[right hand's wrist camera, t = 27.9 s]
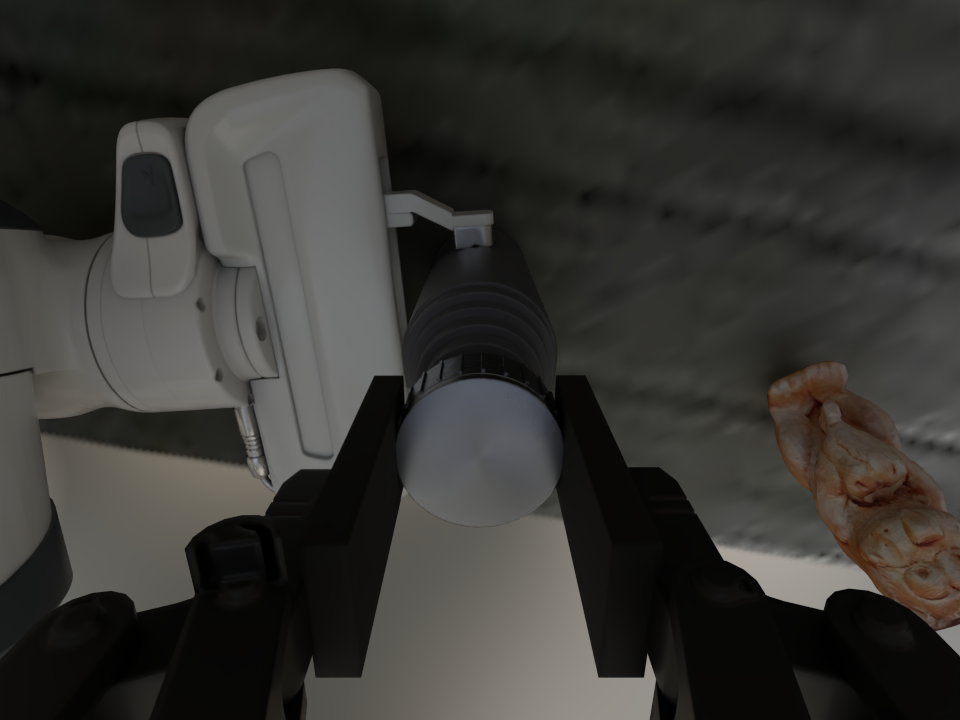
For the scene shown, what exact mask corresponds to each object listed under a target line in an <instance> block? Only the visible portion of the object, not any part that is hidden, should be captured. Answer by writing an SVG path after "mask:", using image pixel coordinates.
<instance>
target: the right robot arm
mask: <svg viewBox="0 0 960 720" xmlns="http://www.w3.org/2000/svg"><path fill="white" fill-rule="evenodd" d="M404 404H405V395H404V376H403V375H374V377H373V379H372V382H371V384H370V386H369V388H368V390H367V393H366V395H365V397H364V399H363V401H362V403H361V406H360V408H359V410H358V412H357V414H356V416H355V419H354V421H353V423H352V425H351V427H350V429H349V432H348V434H347V436H346V438H345V440H344V442H343V445H342V447H341V449H340V451H339V453H338V455H337V458H336V460H335V462H334V464H333V466H332V468H331V469H300V470H299V471H298V472H296V473H295V474H294V475H292V476H291V477H290V478H289V479H287V480H286V481H285V482H283V484H282V485H281V487H280V489H279V490H278V492H277V494H276V495H275V497H274V499H273V502H272V503H271V504H270V506H269V508H268V509H267V511H266V515H265V516H260V515H241V516H237V517H232V518H228V519H224V520H222V521H219V522H217V523H215V524H213V525H210V526H208V527H206V528H205V529H204V530H202V531H201V532H200V533H198V534H197V535H196V536H194V537H193V538H192V540H191V541H190V542H189V544H188V545H187V546H186V548H185V552H186V557H187V561H188V565H189V569H190V574H191V578H192V582H193V586H194V590H195V596H194V598H191V599H188V600H185V601H182V602H179V603H176V604H172V605H167V606H163V607H159V608H154V609H150V610H146V611H142V612H138V613H137V612H136V609H135V605H134V602H133V601H132V600H131V599H130V598H129V597H128V596H127V595H126V594H123V593H118V592H113V591H107V592H98V593H91V594H88V595H85V596H82V597H79V598H76V599H73V600H71V601H69V602H67V603H65V604H63V605H61V606H59V607H58V608H56V609H54V610H52V611H51V612H49V613H48V614H47V615H46V616H44V617H43V618H42V619H41V620H39V621H38V622H37V623H36V624H35V625H33V626H32V627H31V629H30V630H29V631H28V632H27V633H26V634H25V635H24V636H23V637H22V638H21V639H20V640H19V641H18V642H17V643H16V644H15V645H14V646H13V647H12V648H11V649H10V650H9V651H8V652H7V653H6V654H5V655H4V656H3V657H2V658H1V659H0V720H306V710H307V697H306V690H305V684H304V679H305V676H306V673H307V670H308V667H309V663H310V661H311V657H312V655H313V662H314V669H315V676H316V677H317V678H318V677H320V678H322V677H325V678H327V677H361V676H362V671H363V667H364V662H365V658H366V653H367V649H368V644H369V640H370V635H371V630H372V626H373V622H374V617H375V613H376V608H377V604H378V599H379V595H380V591H381V586H382V582H383V577H384V573H385V568H386V564H387V559H388V555H389V550H390V546H391V541H392V537H393V532H394V528H395V523H396V519H397V514H398V510H399V505H400V501H401V497H402V492H403V488H404V486H403V484H402V482H401V480H400V478H399V475H398V470H397V454H396V435H397V431H398V422H399V418H400V415H401V411H402V408H403V405H404ZM555 404H556V407H557V411H558V414H557V416H558V419H559V423H560V426H561V430H562V433H563V437H564V449H563V465H562V474H561V477H560V479H559V481H558V483H557V485H556V489H557V494H558V498H559V503H560V507H561V511H562V516H563V520H564V525H565V529H566V534H567V538H568V543H569V547H570V552H571V556H572V561H573V565H574V570H575V574H576V578H577V583H578V588H579V592H580V597H581V601H582V606H583V610H584V614H585V619H586V623H587V628H588V632H589V637H590V641H591V646H592V650H593V655H594V659H595V664H596V668H597V673H598V677H599V678H600V677H603V678H604V677H605V678H607V677H611V678H615V677H616V678H623V677H624V678H627V677H628V678H630V677H631V678H641V677H642V678H643V677H644V673H645V667H646V660H647V653H648V656H649V659H650V662H651V665H652V668H653V671H654V674H655V677H656V684H655V690H654V696H653V703H652V709H651V715H650V720H960V656H959V655H958V654H957V653H956V652H955V651H954V650H953V649H952V648H951V647H950V646H949V645H948V644H947V643H946V642H945V641H944V640H943V639H942V638H941V637H940V636H939V635H938V634H937V633H936V632H935V631H934V630H933V629H932V628H931V627H930V626H929V625H928V624H927V623H926V622H925V621H924V620H923V619H921V618H920V617H919V616H918V615H917V614H915V613H914V612H913V611H912V610H910V609H909V608H907V607H905V606H903V605H902V604H900V603H898V602H896V601H894V600H892V599H890V598H889V597H886V596H882V595H879V594H876V593H873V592H870V591H866V590H857V589H845V590H840V591H835V592H834V593H833V594H832V595H831V596H830V597H829V598H828V599H827V600H826V604H825V607H824V610H819V609H815V608H810V607H807V606H802V605H798V604H794V603H789V602H785V601H782V600H779V599H775V598H772V597H769V596H767V595H765V593H764V591H763V590H762V588H761V586H760V585H759V583H758V582H757V580H756V579H754V578H753V577H752V576H751V575H749V574H748V573H747V572H746V571H745V570H744V569H742V568H740V567H738V566H736V565H733V564H732V563H730V562H727V561H724V560H723V558H722V557H721V555H720V553H719V552H718V550H717V548H716V546H715V545H714V543H713V541H712V540H711V538H710V536H709V535H708V533H707V531H706V529H705V528H704V526H703V524H702V523H701V521H700V519H699V518H698V516H697V514H695V513H694V509H693V507H692V506H691V504H690V502H689V501H688V500H687V499H686V496H685V494H684V492H683V490H682V489H681V487H680V485H679V484H678V482H677V481H676V480H675V479H674V478H672V477H671V476H670V475H668V474H667V473H666V472H664V471H663V470H662V469H661V468H659V467H627V465H626V463H625V461H624V458H623V456H622V454H621V452H620V450H619V448H618V445H617V443H616V441H615V439H614V437H613V435H612V432H611V430H610V428H609V426H608V424H607V422H606V419H605V417H604V415H603V413H602V411H601V409H600V406H599V404H598V402H597V400H596V398H595V395H594V393H593V391H592V389H591V387H590V385H589V382H588V380H587V378H586V376H585V375H556V388H555Z"/></svg>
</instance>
